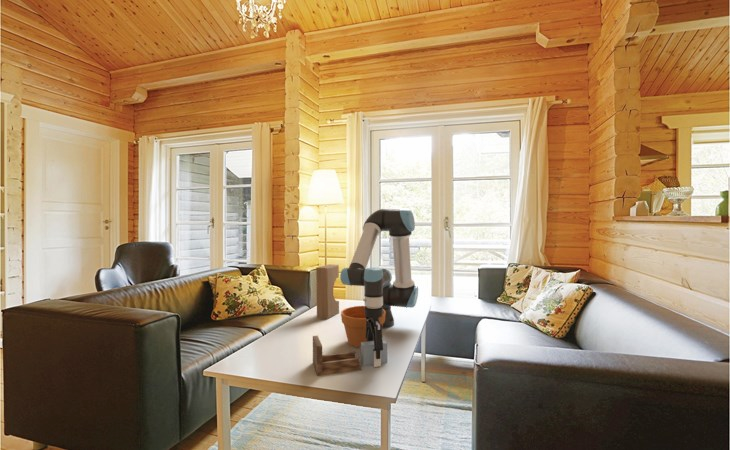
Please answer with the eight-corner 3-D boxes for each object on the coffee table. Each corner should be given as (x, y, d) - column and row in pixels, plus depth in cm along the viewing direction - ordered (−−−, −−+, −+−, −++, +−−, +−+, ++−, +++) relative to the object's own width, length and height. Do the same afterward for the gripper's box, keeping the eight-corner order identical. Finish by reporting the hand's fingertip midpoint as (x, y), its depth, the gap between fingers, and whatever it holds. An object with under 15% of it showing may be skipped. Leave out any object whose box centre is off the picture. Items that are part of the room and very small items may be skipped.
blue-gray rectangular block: (383, 358, 142) (383, 339, 142) (387, 362, 138) (387, 343, 138) (360, 361, 139) (360, 342, 139) (363, 365, 135) (363, 345, 135)
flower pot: (377, 353, 147) (377, 319, 147) (333, 347, 154) (333, 315, 154) (391, 337, 167) (390, 307, 167) (351, 333, 174) (351, 304, 174)
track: (353, 357, 143) (353, 331, 142) (361, 369, 131) (360, 341, 131) (312, 362, 138) (312, 335, 138) (317, 375, 126) (316, 346, 126)
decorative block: (327, 319, 198) (327, 268, 197) (316, 318, 201) (316, 267, 200) (339, 312, 212) (339, 264, 211) (328, 311, 215) (328, 264, 214)
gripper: (357, 300, 147) (358, 352, 147) (372, 313, 127) (372, 374, 127) (374, 299, 149) (374, 350, 150) (391, 312, 129) (391, 371, 129)
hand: (373, 361), depth 138 cm, fingers open, 9 cm apart
